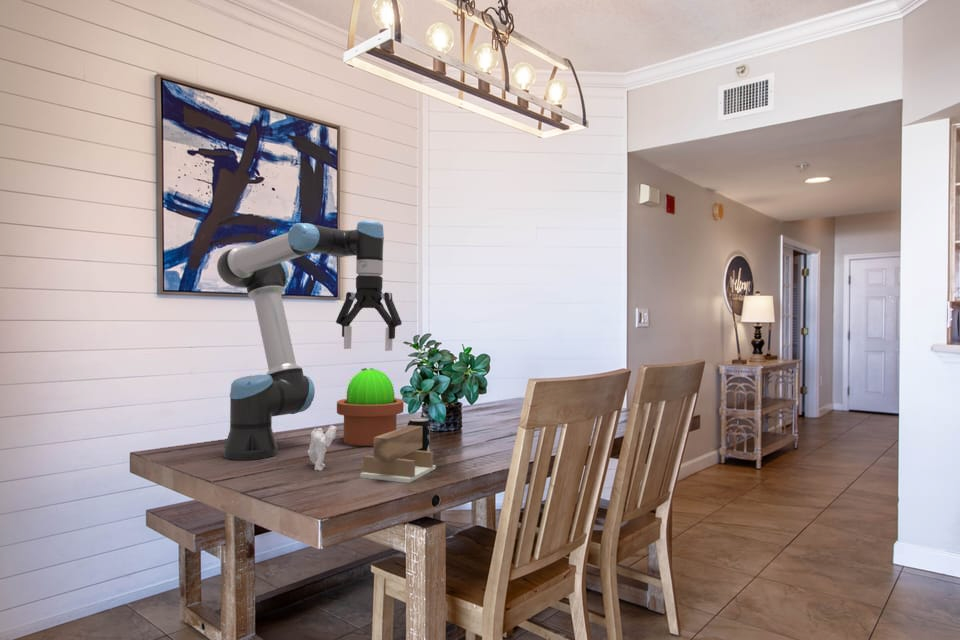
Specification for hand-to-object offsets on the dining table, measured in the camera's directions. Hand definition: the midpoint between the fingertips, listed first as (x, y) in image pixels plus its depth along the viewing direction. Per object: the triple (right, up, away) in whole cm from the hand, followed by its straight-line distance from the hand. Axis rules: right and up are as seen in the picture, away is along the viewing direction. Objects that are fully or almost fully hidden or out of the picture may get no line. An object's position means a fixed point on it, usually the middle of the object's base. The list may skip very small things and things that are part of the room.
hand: (367, 349), depth 175 cm
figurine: (-11, -32, -7) cm, 35 cm away
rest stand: (+11, -32, -13) cm, 36 cm away
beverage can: (+14, -33, +3) cm, 36 cm away
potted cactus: (-5, -32, +30) cm, 44 cm away
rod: (+11, -27, -12) cm, 32 cm away
